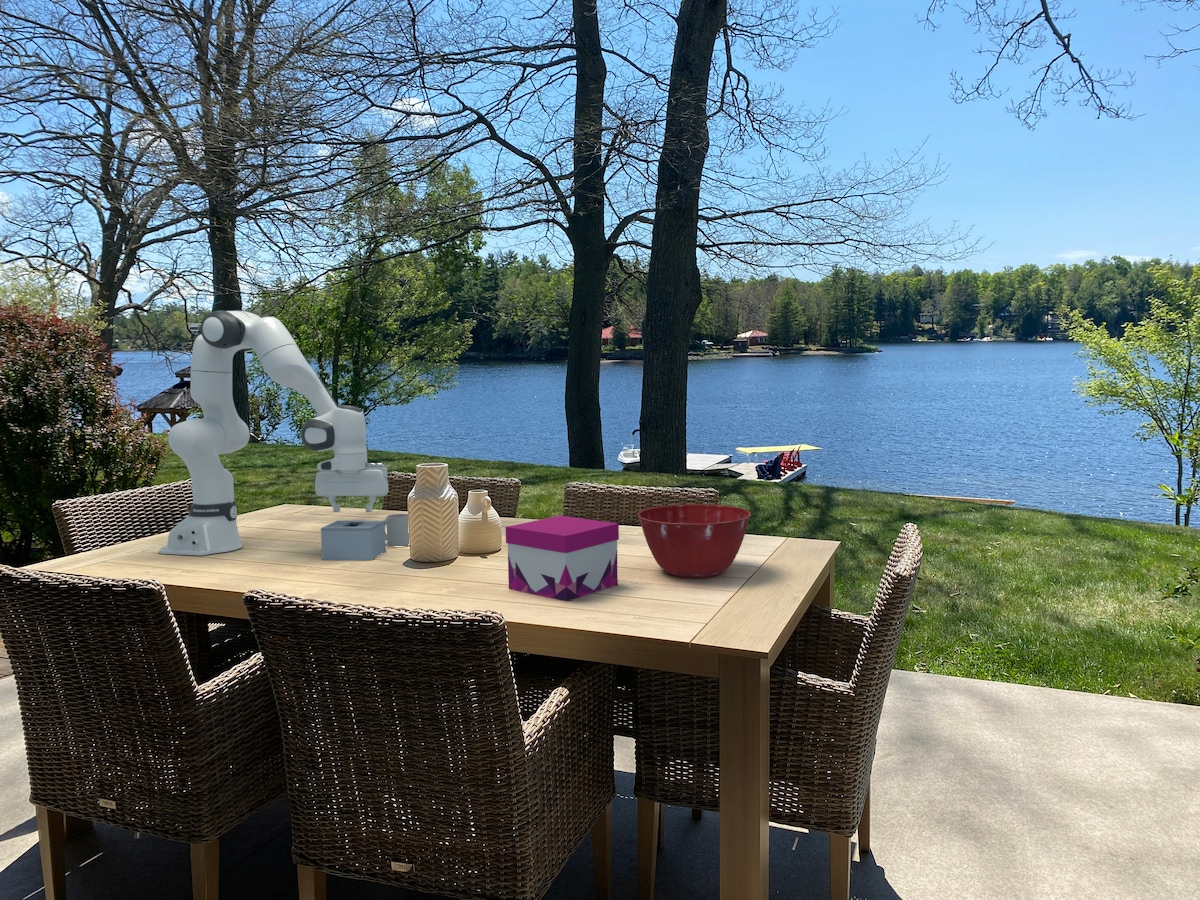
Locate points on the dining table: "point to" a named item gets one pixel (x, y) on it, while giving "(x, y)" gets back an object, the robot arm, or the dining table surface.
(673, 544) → the mixing bowl
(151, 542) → the dining table surface
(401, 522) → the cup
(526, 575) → the decorative box
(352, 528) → the money box
